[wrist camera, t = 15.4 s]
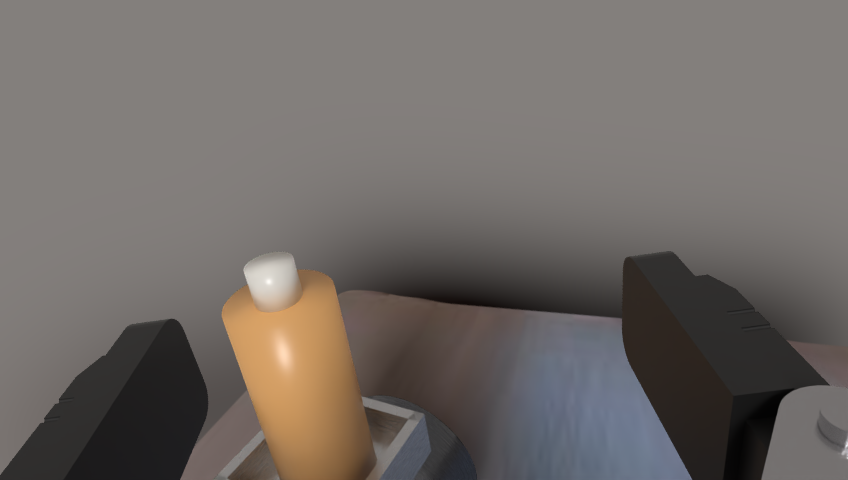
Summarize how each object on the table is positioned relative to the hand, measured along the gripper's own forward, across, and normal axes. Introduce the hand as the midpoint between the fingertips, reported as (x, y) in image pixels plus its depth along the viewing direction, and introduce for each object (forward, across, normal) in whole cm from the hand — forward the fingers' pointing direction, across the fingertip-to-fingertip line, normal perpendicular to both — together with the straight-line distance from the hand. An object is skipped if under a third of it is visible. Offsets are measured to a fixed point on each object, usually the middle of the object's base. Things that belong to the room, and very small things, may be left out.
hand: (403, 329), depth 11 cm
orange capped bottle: (+16, +8, +20) cm, 27 cm away
